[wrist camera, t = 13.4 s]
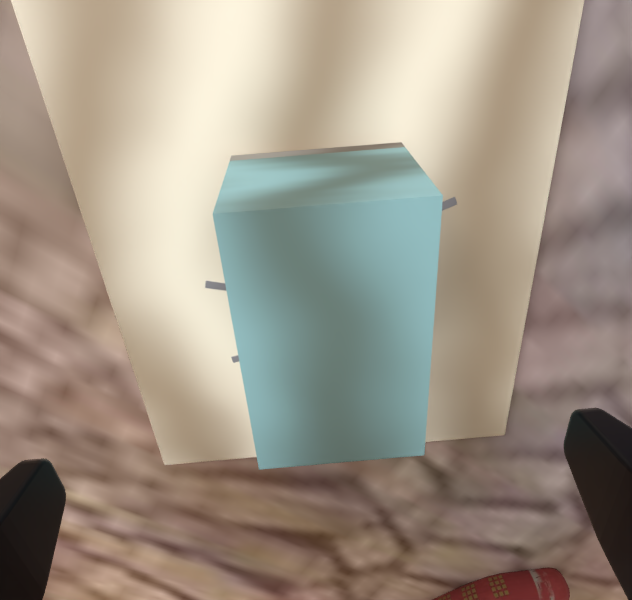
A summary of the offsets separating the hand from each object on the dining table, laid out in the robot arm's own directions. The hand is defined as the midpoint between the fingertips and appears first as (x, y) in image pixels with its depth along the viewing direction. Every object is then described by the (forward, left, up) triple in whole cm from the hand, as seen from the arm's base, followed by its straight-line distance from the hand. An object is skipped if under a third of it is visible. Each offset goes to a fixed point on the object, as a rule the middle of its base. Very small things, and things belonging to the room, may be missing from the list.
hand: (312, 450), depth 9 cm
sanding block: (-1, +2, -10) cm, 11 cm away
